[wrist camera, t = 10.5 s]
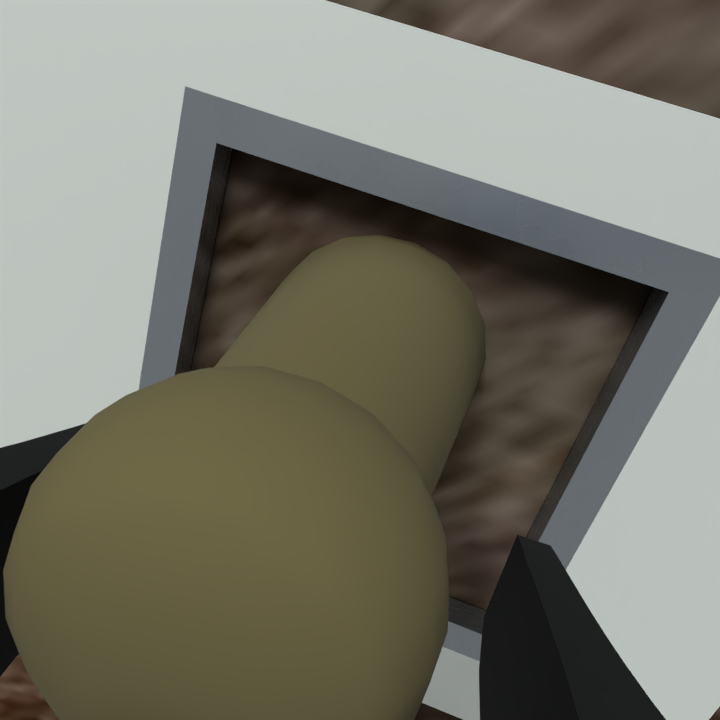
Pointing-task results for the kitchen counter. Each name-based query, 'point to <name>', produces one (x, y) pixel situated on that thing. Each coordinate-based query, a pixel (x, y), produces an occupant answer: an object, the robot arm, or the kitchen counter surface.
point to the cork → (261, 512)
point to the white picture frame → (399, 184)
